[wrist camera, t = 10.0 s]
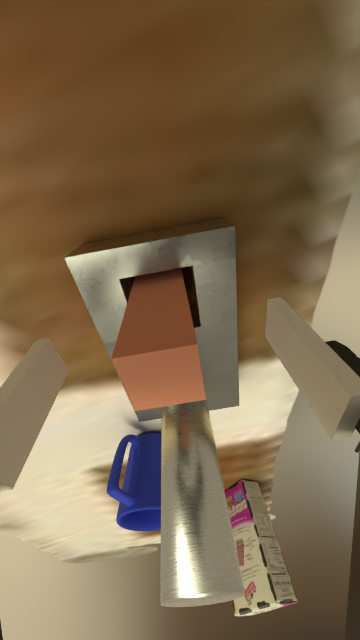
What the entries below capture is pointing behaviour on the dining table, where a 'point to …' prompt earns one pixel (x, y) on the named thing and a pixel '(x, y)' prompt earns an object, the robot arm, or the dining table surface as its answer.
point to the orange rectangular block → (158, 344)
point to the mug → (138, 483)
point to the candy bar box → (257, 552)
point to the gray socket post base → (187, 418)
